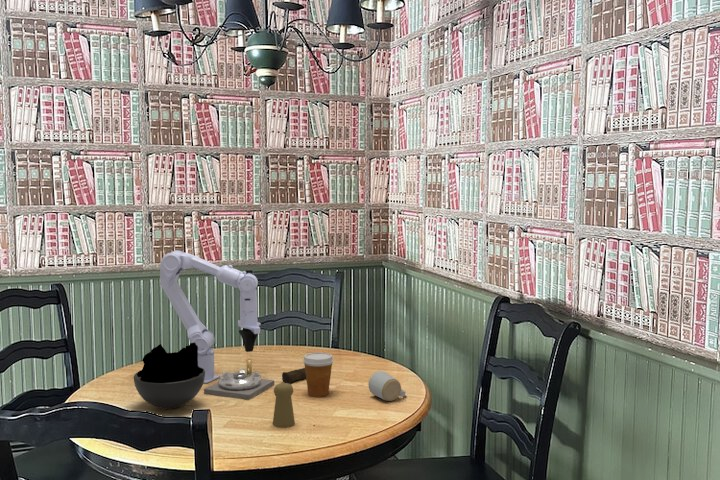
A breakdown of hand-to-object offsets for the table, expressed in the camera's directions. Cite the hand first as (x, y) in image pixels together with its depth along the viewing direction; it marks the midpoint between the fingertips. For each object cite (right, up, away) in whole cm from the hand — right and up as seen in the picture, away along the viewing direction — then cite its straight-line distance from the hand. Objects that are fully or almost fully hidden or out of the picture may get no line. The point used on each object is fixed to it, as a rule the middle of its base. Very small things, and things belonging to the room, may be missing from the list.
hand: (249, 351), depth 222 cm
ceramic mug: (+46, -11, -18) cm, 50 cm away
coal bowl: (-18, -12, -27) cm, 35 cm away
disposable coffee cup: (+24, -11, -15) cm, 30 cm away
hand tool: (+19, -10, +3) cm, 21 cm away
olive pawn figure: (+16, -13, -41) cm, 46 cm away
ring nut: (-1, -9, -11) cm, 14 cm away
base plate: (-1, -10, -11) cm, 15 cm away
